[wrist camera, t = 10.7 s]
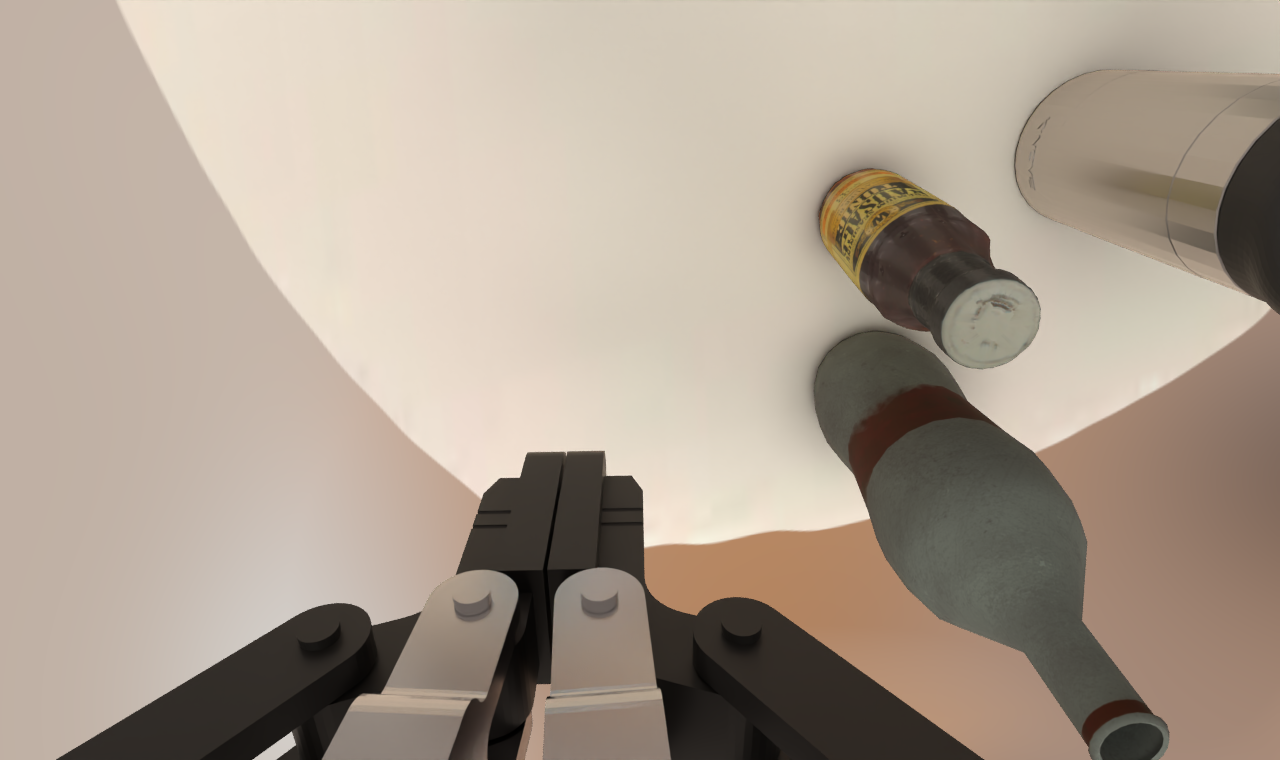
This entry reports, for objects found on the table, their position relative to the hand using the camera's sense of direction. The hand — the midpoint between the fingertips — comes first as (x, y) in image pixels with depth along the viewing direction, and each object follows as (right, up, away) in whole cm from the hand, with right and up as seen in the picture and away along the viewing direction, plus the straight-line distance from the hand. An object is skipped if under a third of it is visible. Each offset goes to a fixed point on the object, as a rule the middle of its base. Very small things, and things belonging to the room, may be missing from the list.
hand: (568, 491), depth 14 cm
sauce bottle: (+16, +13, +33) cm, 39 cm away
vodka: (+18, +2, +38) cm, 42 cm away
